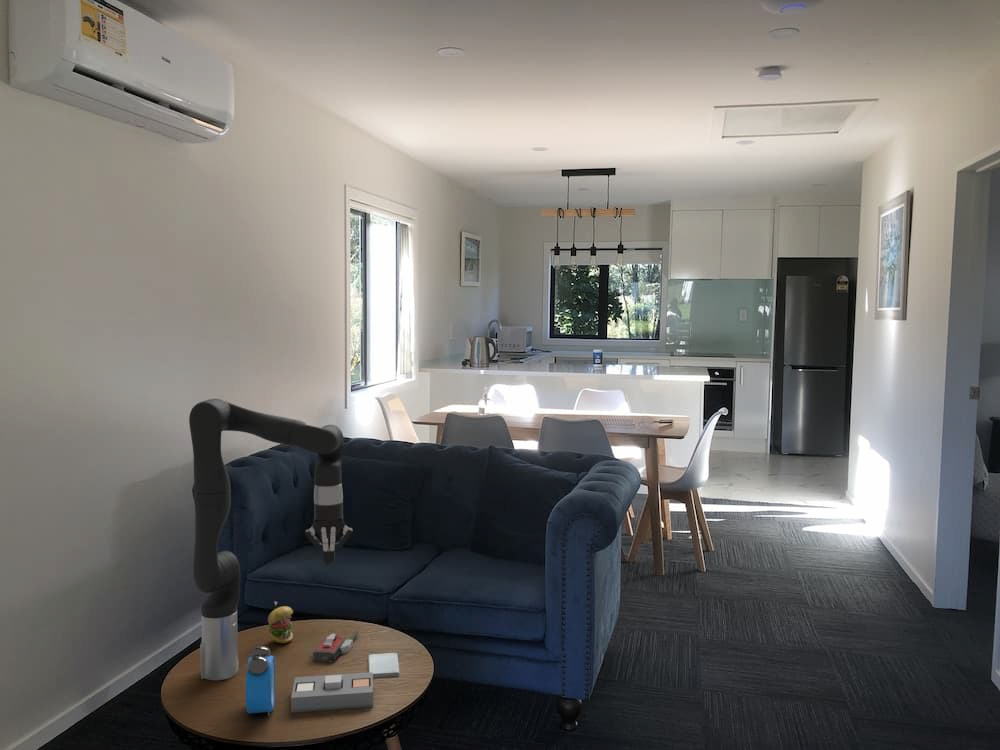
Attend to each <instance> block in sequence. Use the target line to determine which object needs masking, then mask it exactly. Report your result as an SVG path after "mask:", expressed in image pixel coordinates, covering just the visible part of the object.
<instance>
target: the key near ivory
mask: <svg viewBox="0 0 1000 750" xmlns="http://www.w3.org/2000/svg"><path fill="white" fill-rule="evenodd" d="M311 690H314V683H305V684H298V686H297V691H311ZM297 691H296V692H297Z"/></svg>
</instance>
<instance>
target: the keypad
mask: <svg viewBox="0 0 1000 750" xmlns="http://www.w3.org/2000/svg"><path fill="white" fill-rule="evenodd" d="M331 675H332V674H325V675H324V674H323V675H310V676H309V675H308V676H297V677H294V682H293V684H292V685H293V686H292V691H291V695H290V708H291V709H290V713H302V712H317V711H330V710H331V711H332V710H344V709H358V708H371V707H372V708H373V707H374V678H373V672H369V671H368V672H356V673H342V674H341V673H340V674H339V673H338V674H336V675H341V680H342V687H341V688H340V689H326V690H325V677H326V676H331ZM360 679H369V687H354V688H353V680H360ZM305 683H314V690H311V691H297V686H298V684H305ZM296 691H297V692H296Z"/></svg>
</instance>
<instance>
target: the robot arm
mask: <svg viewBox="0 0 1000 750" xmlns="http://www.w3.org/2000/svg"><path fill="white" fill-rule="evenodd" d="M188 424H189V431H190V438H191V445H192V452H193V453H192V454H193V501H194V502H193V503H194V514H195V515H194V516H195V518H194V520H195V521H194V523H195V524H194V530H195V531H194V532H195V535H194V537H195V538H194V551H193V562H192V563H193V565H192V566H193V568H192V575H193V581H194V583H195V586H196V588H197V589H198V590H199V591H200V592H201V593H203V594H209V595H208V596H207V597H206V598H205V599H204V600H203V601H202V603H201V606H200V614H201V615H200V616H201V619H200V620H201V642H200V645H199V647H200V648H199V650H200V657H199V658H200V679H201V680H204V679H205V680H208V681H222V680H227V679H230V678H232V677H234V676H236V675H237V674H238V673H239V640H238V639H239V638H238V637H239V635H238V634H239V633H238V632H239V631H238V630H239V629H238V603H239V601H240V598H241V597H240V596H241V566H240V562H239V560H238V558H237V555H235V554H234V553H233V552H231V551H227V550H224V551H220V552H218V551H219V550H218V549H219V548H218V546H219V539H220V536H221V533H222V531H223V529H224V525H225V523H226V521H227V518H228V516H229V514H230V511H231V506H232V488H231V487H232V486H231V480H230V476H229V473H228V470H227V468H226V465H225V462H224V461H223V456H222V432H223V431H225V432H231V431H232V432H241V433H246V434H251V435H253V436H256V437H258V438H260V439H261V438H262V439H263V440H265V441H269V442H272V443H276V444H280V445H284V446H290V447H296V448H300V449H302V450H305V451H307V452H311V453H313V454H317V462H316V464H315V466H314V490H313V511H314V513H313V515H314V517H313V521H312V522H313V523H312V526H311V527H310V528H309V529H308V528H307V529H306V530H305V533H304V535H305V537H306V538H307V539H308V540H309V541H310V543H311V544H312V545H313V546H314V547H315V548H316V549H317V550H321V551H323V563H326V566H328V565H329V566H330V565H333V563H335V560H336V557H335V556H336V555H335V554H336V553H335V551H336V550H337V549H338V550H339V549H341V548H342V547H343V545H344V544H345V543H346V542H347V540H348V539H349V538H350V537H351V536H352V533H353V528H352V527H349V526H348V525H347V524H346V522H345V520H344V501H343V500H344V495H343V494H344V493H343V485H342V481H343V480H342V474H343V473H342V461H343V454H344V445H345V443H344V435H343V432H342V430H341V428H340V427H339V426H337V425H336V424H326V425H324V426H322V427H319V426H313V425H309V424H307V423H306V422H305V421H302V420H300V419H293V418H290V417H285V416H280V415H279V416H278V415H274V414H267V413H264V412H263V413H262V412H260V411H259V412H258V411H255V410H251V409H247V408H245V407H242V406H239V405H237V404H233V403H231V402H229V401H226V400H223V399H220V398H210V399H205V400H203V401H200V402H198V403H196V404H195V405H194V406H193V407H192V408H191V410H190V413H189V416H188ZM341 532H342V536H341V537H340V538H339V540H338V541H337V542H336V538H337V537H338V536H339V535H340V534H341ZM315 534H317V535H318V536H319V537H320V538H321V540H322V542H321V541H320V540H319V538H318V537H317V536H316V535H315ZM329 539H330V541H329ZM329 542H330V543H329ZM329 544H330V545H329Z"/></svg>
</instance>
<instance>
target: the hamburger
mask: <svg viewBox="0 0 1000 750" xmlns="http://www.w3.org/2000/svg"><path fill="white" fill-rule="evenodd" d="M277 604H278V601H274V605H275V607H276V608H274V610H272V611H271V612H270V613H269V615H268V617H267V622H268V624H269V625H268V627H269V633H270V635H269V636H270V638H271V639H272V640H273V642H275V643H278V644H288V643H289V642H291V641H292V639H293V638H294V637H293V635H294V634H293V632H292V631H291V630H293V628H292V625H293V622H292V621H291V620H290V619H292V615H293V613H294V610H293V609H292V607H290V606H287V605H285V606H279V607H277Z"/></svg>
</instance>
